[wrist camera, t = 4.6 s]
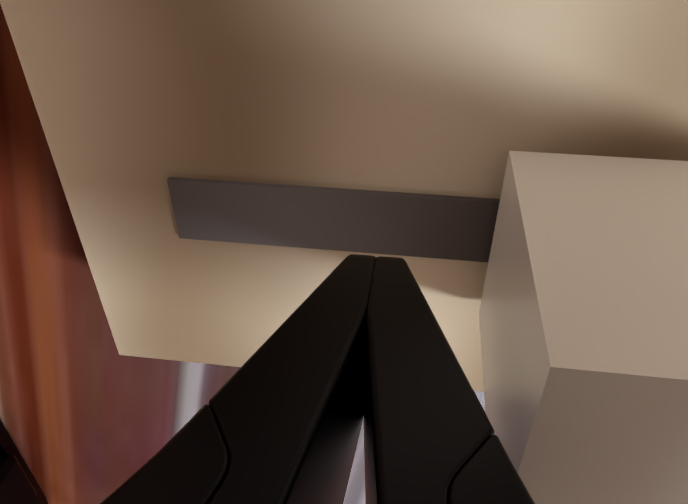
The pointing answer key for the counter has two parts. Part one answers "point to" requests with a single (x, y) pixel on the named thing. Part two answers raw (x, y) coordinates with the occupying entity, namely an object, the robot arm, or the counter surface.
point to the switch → (590, 327)
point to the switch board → (323, 143)
